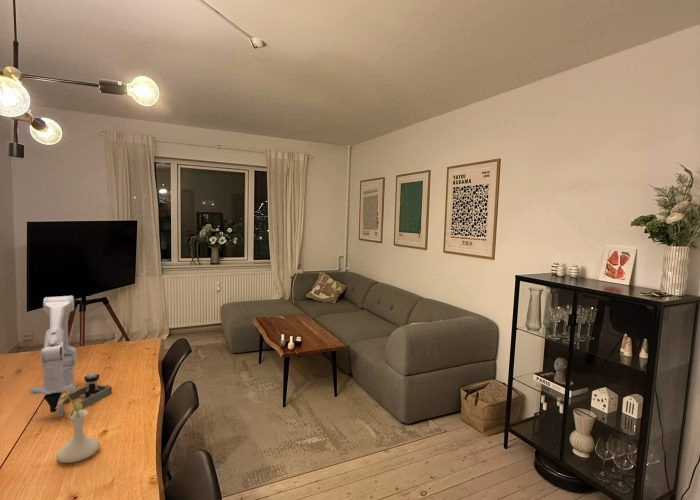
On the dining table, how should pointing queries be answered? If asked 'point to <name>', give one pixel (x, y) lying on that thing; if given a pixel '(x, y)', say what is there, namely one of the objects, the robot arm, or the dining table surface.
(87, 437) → the flower in vase
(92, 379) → the push button
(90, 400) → the duct bay
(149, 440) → the dining table surface
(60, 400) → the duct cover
